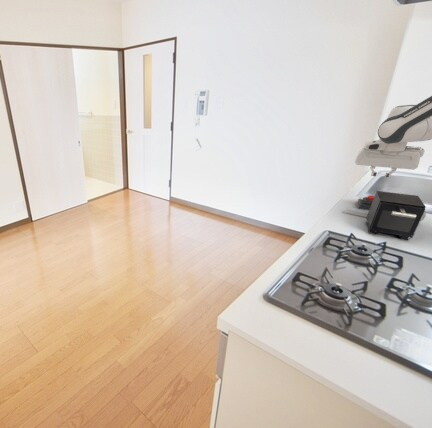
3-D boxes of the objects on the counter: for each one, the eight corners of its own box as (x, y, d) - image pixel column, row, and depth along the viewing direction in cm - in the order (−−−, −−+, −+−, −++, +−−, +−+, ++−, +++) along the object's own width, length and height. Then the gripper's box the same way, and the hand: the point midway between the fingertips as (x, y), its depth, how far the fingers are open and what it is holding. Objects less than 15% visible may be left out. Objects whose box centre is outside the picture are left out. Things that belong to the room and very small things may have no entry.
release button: (375, 199, 130) (376, 196, 129) (376, 202, 127) (377, 198, 126) (366, 198, 131) (367, 195, 131) (367, 200, 129) (368, 197, 128)
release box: (378, 206, 132) (382, 198, 130) (381, 212, 126) (384, 204, 124) (357, 202, 136) (359, 195, 134) (358, 208, 130) (361, 200, 128)
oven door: (415, 244, 98) (429, 215, 93) (371, 236, 104) (382, 208, 99) (411, 236, 102) (424, 207, 98) (370, 229, 109) (380, 201, 104)
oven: (409, 241, 103) (425, 206, 98) (367, 233, 110) (380, 200, 104) (403, 228, 112) (418, 195, 106) (365, 221, 119) (376, 190, 113)
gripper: (424, 145, 115) (411, 177, 121) (360, 142, 126) (350, 171, 132) (428, 148, 111) (414, 181, 116) (361, 145, 122) (351, 175, 128)
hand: (380, 176), depth 124 cm, fingers open, 3 cm apart
